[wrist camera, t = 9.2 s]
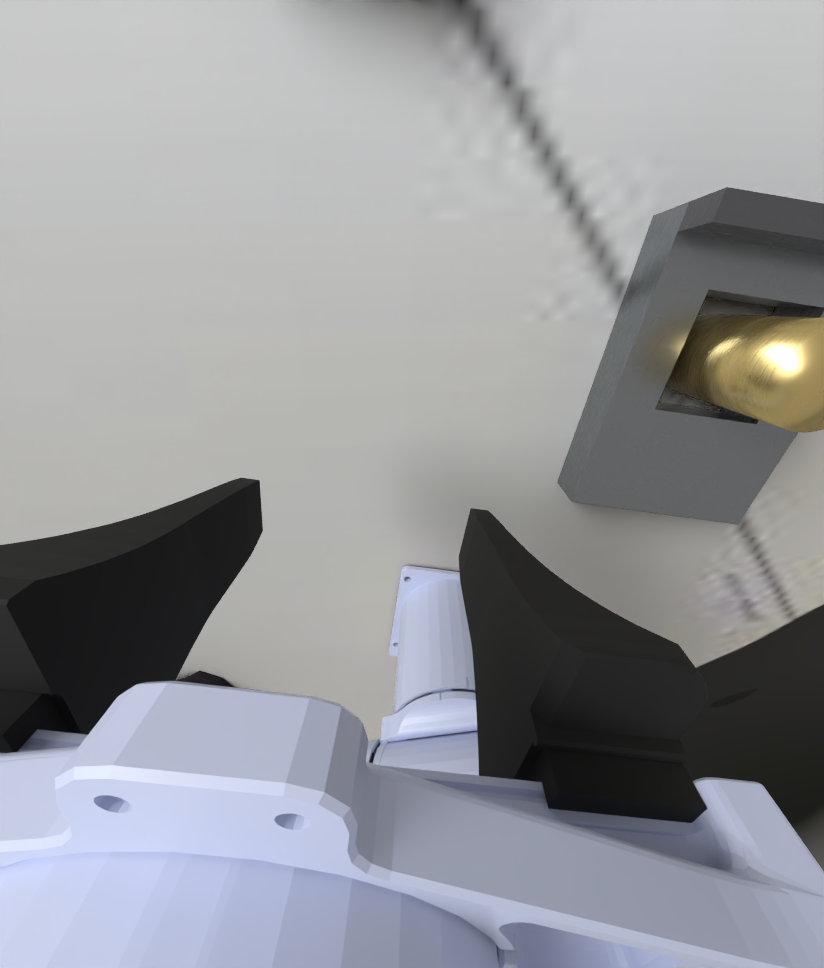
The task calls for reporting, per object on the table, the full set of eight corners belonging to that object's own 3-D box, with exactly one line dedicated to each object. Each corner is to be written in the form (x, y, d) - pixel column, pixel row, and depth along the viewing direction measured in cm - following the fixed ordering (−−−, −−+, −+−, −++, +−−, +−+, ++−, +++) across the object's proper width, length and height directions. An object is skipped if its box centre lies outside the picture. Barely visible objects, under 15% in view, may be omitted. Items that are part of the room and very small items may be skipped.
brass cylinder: (707, 400, 20) (832, 443, 14) (644, 381, 20) (743, 416, 14) (756, 327, 19) (924, 338, 12) (687, 303, 18) (825, 304, 12)
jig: (707, 503, 23) (767, 544, 19) (557, 482, 23) (585, 520, 19) (857, 249, 17) (992, 232, 13) (653, 215, 17) (727, 187, 13)
